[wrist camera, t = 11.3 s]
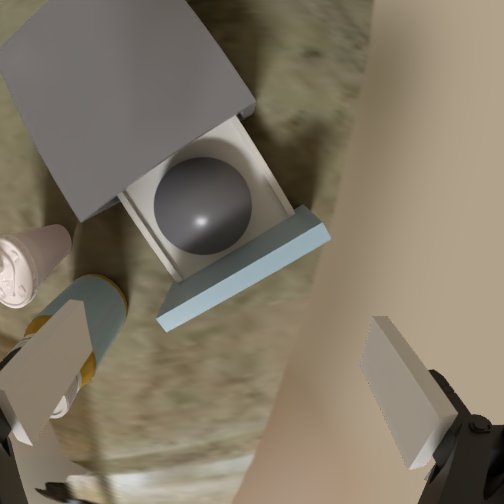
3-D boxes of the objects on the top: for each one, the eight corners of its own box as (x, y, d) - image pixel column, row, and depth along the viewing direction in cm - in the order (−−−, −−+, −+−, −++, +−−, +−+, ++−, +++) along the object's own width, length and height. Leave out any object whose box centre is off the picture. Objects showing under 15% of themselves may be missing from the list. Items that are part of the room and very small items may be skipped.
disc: (192, 265, 29) (190, 272, 27) (141, 192, 27) (135, 194, 25) (269, 217, 28) (270, 221, 26) (217, 138, 25) (215, 137, 24)
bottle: (105, 260, 31) (27, 337, 16) (141, 315, 33) (90, 415, 18) (62, 286, 31) (-15, 362, 17) (96, 336, 33) (39, 426, 19)
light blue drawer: (81, 142, 26) (39, 143, 19) (207, 52, 24) (197, 23, 17) (181, 292, 31) (166, 332, 24) (310, 217, 30) (331, 238, 22)
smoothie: (75, 206, 29) (-15, 249, 15) (88, 266, 31) (15, 335, 17) (30, 216, 29) (-59, 258, 16) (43, 271, 31) (-33, 333, 17)
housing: (40, 68, 24) (-6, 55, 16) (157, -21, 22) (135, -60, 14) (118, 203, 29) (80, 222, 21) (252, 114, 27) (256, 101, 19)
